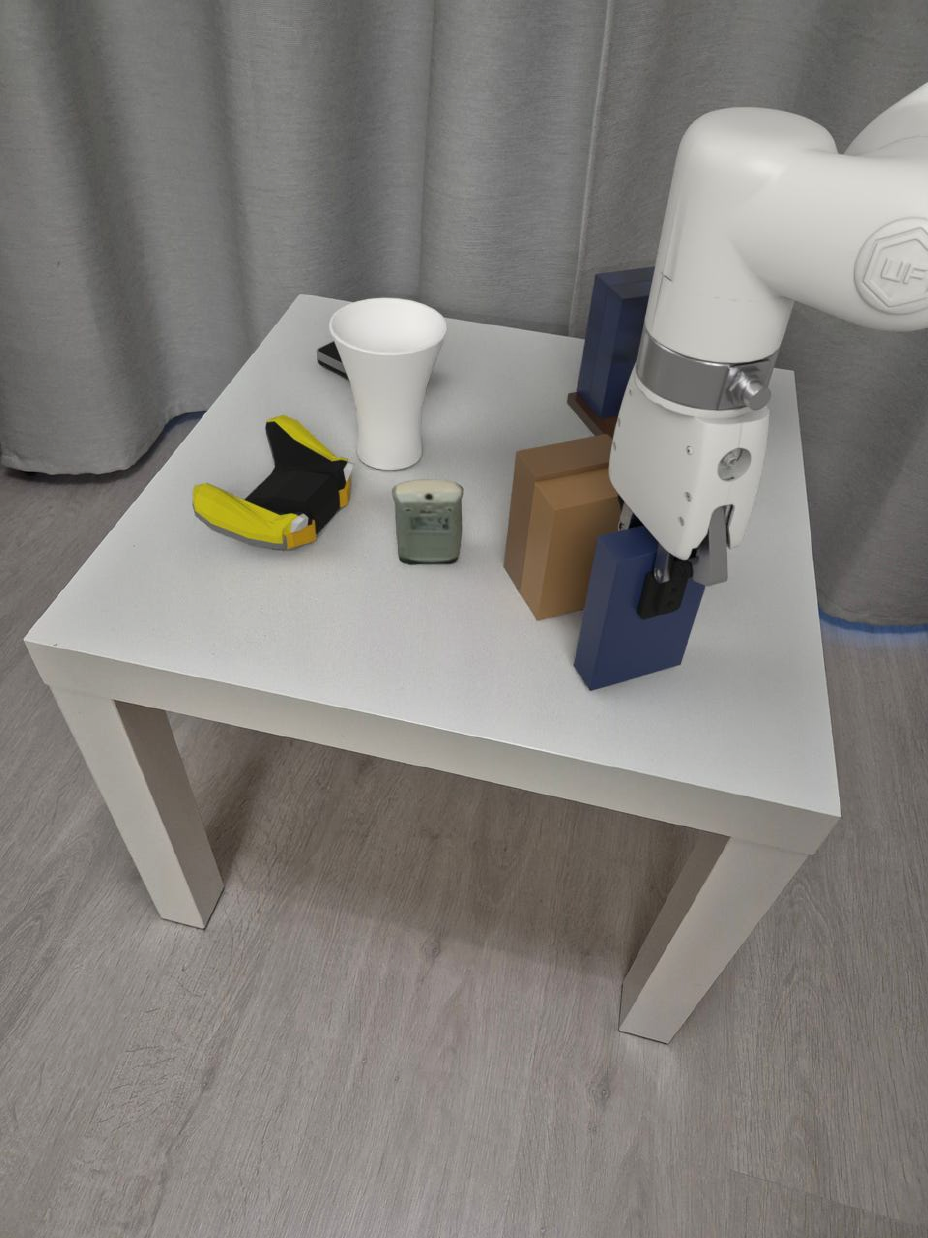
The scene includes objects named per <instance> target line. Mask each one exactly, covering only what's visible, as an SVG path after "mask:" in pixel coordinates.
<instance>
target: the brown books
mask: <svg viewBox="0 0 928 1238" xmlns="http://www.w3.org/2000/svg"><path fill="white" fill-rule="evenodd" d="M612 441H613V440H612V439H611V437H610V436H609V435H608V434H604V435H599V436H595V435H594V436H588V437H583V438H578V439H572V440H568V441H561V442H557V443H551V444H547V445H541V446H536V447H531V448H526V449H525V448H524V449H520V450H516V451H515V459H514V469H513V470H514V471H513V477H512V478H513V479H512V488H511V496H510V504H509V515H508V523H507V531H506V540H505V549H504V559H503V568H504V570H505V572H506V573H507V575H508V576H509V578H510V580H511V582H512V583H513V584H514V586H515V588H516V589H517V590H518V592H519V594H520V596H521V597H522V599H523V600H524V602H525V604H526V605H527V607H528V609H529V610H530V611H531V613H532V615H533V616H534V618H535V619H536V621H538V622H539V621H542V620H546V619H551V618H553V617H557V616H562V615H565V614H570V613H573V612H574V613H575V612H579V611H582V610H584V607H585V602H586V597H587V592H588V586H589V581H590V576H591V570H592V565H593V560H594V554H595V549H596V544H597V538H598V536H601V535H605V534H609V533H613V532H618V522H619V519H620V515H621V508H620V504H619V501H618V498H617V496H618V492H617V491H616V490H615V488H614V487H613V485H612V483H611V481H610V478H609V460H610V452H611V446H612Z"/></svg>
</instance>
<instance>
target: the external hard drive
mask: <svg viewBox="0 0 928 1238" xmlns="http://www.w3.org/2000/svg"><path fill="white" fill-rule="evenodd" d="M316 360H317V363H318V365H319V366H321V367H323V368H324V369H327V370H328V371H331V372H333V373H335V374H336V375H339V376H340V377H343V378H345V379H347V380H349V378H348V376H347V373H346V370H345V368H344V365H343V362H342V360H341V357H340V354H339V352H338V349H337V347H336V344H335V342H334V340H332V341H330V342H328V343H326V344H324V345H322V346H319V347H318V348H317V349H316Z"/></svg>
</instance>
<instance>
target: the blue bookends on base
mask: <svg viewBox="0 0 928 1238" xmlns="http://www.w3.org/2000/svg"><path fill="white" fill-rule="evenodd" d="M654 270H655V265H654V266H647V267H637V268H631V269H630V268H629V269H624V270H615V271H608V272H600V273H599V272H598V273H595V275H594V280H593V286H592V292H591V298H590V304H589V311H588V318H587V324H586V330H585V335H584V343H583V348H582V354H581V362H580V367H579V373H578V379H577V385H576V391H573V392H568V393H567V398H566V403H567V405H568V406H569V408H571V410H572V411H573V412H574V414H576V415H577V416H578V418H579V419H580V420H581V421H582V422H583V424H584V425H585V426H586V427H587V428H588V429H589V430H590V432H591V433H592V434H593V435H594V436H599V435H604V434H608V435H609V436H610V437H611V439H612V440H613V436H614V431H615V427H616V423H617V419H618V415H619V411H620V408H621V404H622V401H623V397H624V394H625V391H626V388H627V385H628V382H629V379H630V376H631V374H632V371H633V368H634V366H635V364H636V361H637V356H638V351H639V346H640V341H641V335H642V330H643V325H644V320H645V315H646V310H647V305H648V300H649V295H650V290H651V285H652V280H653V275H654Z"/></svg>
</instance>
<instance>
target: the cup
mask: <svg viewBox="0 0 928 1238" xmlns="http://www.w3.org/2000/svg"><path fill="white" fill-rule="evenodd" d="M328 329H329V332H330V334H331V337H332V339H333V341H334V342H335V344H336V347H337V349H338V352H339V354H340V357H341V360H342V362H343V365H344V368H345V370H346V373H347V376H348V378H349V379H348V381H349V384H350V388H351V392H352V397H353V401H354V406H355V411H356V412H355V413H356V420H357V429H358V430H357V444H356V455H357V457H358V458H359V459H360V461H361V462H362V463H364V464H365V465H366V466H369V467H371V468H373V469H377V470H383V471H398V470H403V469H407V468H410V467H411V466H414V465H415V464H416V463H417V462H419V461H420V460H421V458H422V455H423V442H422V431H421V430H422V429H421V428H422V417H423V408H424V403H425V398H426V395H427V393H426V392H427V388H428V384H429V382H430V379H431V376H432V373H433V372H434V371H433V370H434V367H435V365H436V362H437V360H438V356H439V354H440V352H441V349H442V346H443V344H444V340H445V338H446V336H447V333H448V323H447V321H446V320H445V318H444V316H443V315H442V314H441V313H440V312H439V311H438V310H436V309H435V308H434V307H431V306H429V305H427V304H425V303H422V302H418V301H415V300H412V299H405V298H400V297H374V298H373V297H372V298H365V299H361V300H357V301H354V302H351V303H349V304H346V305H344V306H342V307H341V308H339V309H338V310H336V311H335V312H334V314H333V315H332V316H331V317H330V319H329V323H328Z"/></svg>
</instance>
